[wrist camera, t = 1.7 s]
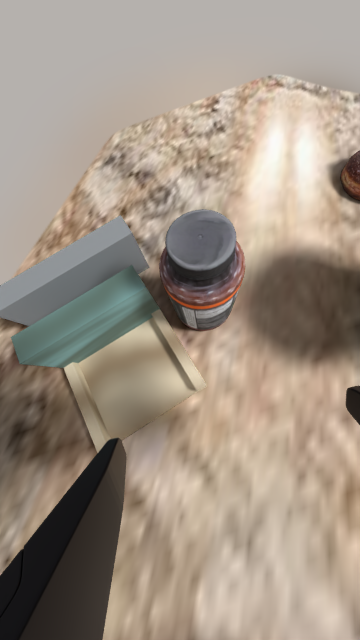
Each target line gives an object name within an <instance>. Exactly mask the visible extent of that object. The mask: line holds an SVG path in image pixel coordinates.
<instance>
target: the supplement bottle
mask: <svg viewBox="0 0 360 640" xmlns="http://www.w3.org/2000/svg"><path fill="white" fill-rule="evenodd" d="M165 243H166V247H165V249H164V251H163V253H162V255H161V258H160V263H159V269H160V277H161V280H162V282H163V285H164V287H165V290H166V292H167V294H168V296H169V298H170V300H171V302H172V304H173V307H174V309H175V311H176V313H177V315H178V317H179V318H180V320H181V321H182V322H183V323H184V324H185V325H186V326H188V327H190V328H192V329H195V330H199V331H207V330H211V329H214V328H216V327H218V326H220V325H221V324H222V323H224V322H225V320H226V319H227V318H228V316H229V314H230V312H231V310H232V307H233V304H234V302H235V299H236V296H237V294H238V291H239V288H240V286H241V283H242V280H243V277H244V272H245V258H244V253H243V251H242V249H241V247H240V245H239V244H238V242H237V241H236V232H235V229H234V226H233V225H232V223H231V222H230V221H229V220H228V219H227V218H226V217H225V216H224V215H222V214H220V213H218V212H215V211H212V210H204V209H202V210H195V211H191V212H188V213H186V214H183V215H182V216H180V217H179V218H177V219H176V220H175V221H174V222H173V223H172V225H171V226H170V228H169V230H168V232H167V235H166V242H165Z"/></svg>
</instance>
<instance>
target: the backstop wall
mask: <svg viewBox="0 0 360 640" xmlns="http://www.w3.org/2000/svg"><path fill="white" fill-rule="evenodd" d="M131 265H132V266H133V267H134V269H135V270H136V272H137V274H139V273H141V272H143V271H144V270H146V269H148V268H149V266H148V264H147V262H146V260H145V258H144V256H143V254H142V252H141V250H140V248H139V246H138V244H137V242H136V240H135V238H134V236H133V234H132V232H131V231H130V229H129V228H128V226H127V224H126V223H125V221H124V220H123V218H122V217H121V215H120V216H118V217H117V218H115V219H113V220H112V221H110V222H108V223H106V224H105V225H103V226H101V227H100V228H98V229H96V230H95V231H93V232H91V233H89V234H88V235H86V236H84V237H83V238H81V239H79V240H77V241H76V242H74V243H72V244H71V245H69V246H67V247H65V248H64V249H62V250H60V251H59V252H57V253H55V254H53V255H52V256H50V257H48V258H47V259H45V260H43V261H41V262H40V263H38V264H36V265H35V266H33V267H31V268H29V269H28V270H26V271H24V272H23V273H21V274H19V275H17V276H16V277H14V278H12V279H11V280H9V281H7V282H6V283H4V284H2V285H0V317H1V318H4V319H7V320H11V321H14V322H17V323H20V324H24V325H27V326H31V325H32V324H34V323H36V322H37V321H39V320H41V319H42V318H44V317H46V316H47V315H49V314H51V313H52V312H54V311H56V310H57V309H59V308H61V307H63V306H64V305H66V304H68V303H69V302H71V301H73V300H74V299H76V298H78V297H79V296H81V295H83V294H84V293H86V292H88V291H89V290H91V289H93V288H94V287H96V286H98V285H99V284H101V283H103V282H104V281H106V280H108V279H109V278H111V277H113V276H114V275H116V274H118V273H119V272H121V271H123V270H124V269H126V268H128V267H129V266H131Z"/></svg>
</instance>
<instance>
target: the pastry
mask: <svg viewBox="0 0 360 640" xmlns="http://www.w3.org/2000/svg"><path fill="white" fill-rule="evenodd" d="M340 178H341V181H342V184H343V187H344V190H345V191H346V192H347V193H348V194H349V195H350V196H351V197H353V198H355V199H358V200H360V151H358V152H357V153H355V154H354V155H353V156H352V157H351V158H350V160H349V161H348V163H347V164H346V166H345V167H344V169H343V170H342V172H341V176H340Z"/></svg>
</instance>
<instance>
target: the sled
mask: <svg viewBox="0 0 360 640" xmlns="http://www.w3.org/2000/svg"><path fill="white" fill-rule="evenodd" d="M11 339H12V342H13V345H14V348H15V351H16V354H17V357H18V360H19V363H20V364H26V365H37V366H49V367H60V368H64V370H65V373H66V375H67V378H68V380H69V383H70V385H71V388H72V390H73V393H74V395H75V398H76V400H77V403H78V405H79V408H80V410H81V413H82V415H83V418H84V420H85V423H86V425H87V428H88V430H89V433H90V435H91V438H92V440H93V443H94V445H95V448H96V450H97V453H98V452H99V451H100V450H101V448H102V447H103V446H104V445H105V443H106V442H107V441H108V440H109V439H112V438H117V437H119V438H120V439H121V441H122V440H123V439H125V438H126V437H128V436H130V435H131V434H133V433H134V432H136V431H137V430H139V429H140V428H142V427H144V426H145V425H147V424H148V423H150V422H151V421H153V420H154V419H156V418H158V417H159V416H161V415H162V414H164V413H165V412H167V411H168V410H170V409H171V408H173V407H175V406H176V405H178V404H179V403H181V402H182V401H184V400H185V399H187V398H189V397H190V396H192V395H193V394H195V393H196V392H198V391H200V390H202V389H203V388H205V387H206V386H207V384H206V383H205V381H204V379H203V378H202V376H201V375H200V373H199V371H198V370H197V368H196V366H195V365H194V363H193V362H192V360H191V358H190V357H189V355H188V354H187V352H186V350H185V349H184V347H183V345H182V344H181V342H180V341H179V339H178V337H177V336H176V334H175V333H174V331H173V329H172V328H171V326H170V324H169V323H168V321H167V320H166V318H165V316H164V315H163V313H162V312H161V310H160V308H159V307H158V305H157V303H156V302H155V300H154V299H153V297H152V295H151V294H150V292H149V291H148V289H147V288H146V286H145V284H144V283H143V281H142V280H141V278H140V277H139V275H138V274H137V272H136V270H135V269H134V267H133V266H132V265H131V266H129V267H128V268H126V269H124V270H123V271H121V272H119V273H118V274H116V275H114V276H113V277H111V278H109V279H108V280H106V281H104V282H103V283H101V284H99V285H98V286H96V287H94V288H93V289H91V290H89V291H88V292H86V293H84V294H83V295H81V296H79V297H78V298H76V299H74V300H73V301H71V302H69V303H68V304H66V305H64V306H63V307H61V308H59V309H57V310H56V311H54V312H52V313H51V314H49V315H47V316H46V317H44V318H42V319H41V320H39V321H37V322H36V323H34V324H32V325H31V326H29V327H27V328H26V329H24V330H22V331H21V332H19V333H17V334H16V335H14V336H12V337H11Z"/></svg>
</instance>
